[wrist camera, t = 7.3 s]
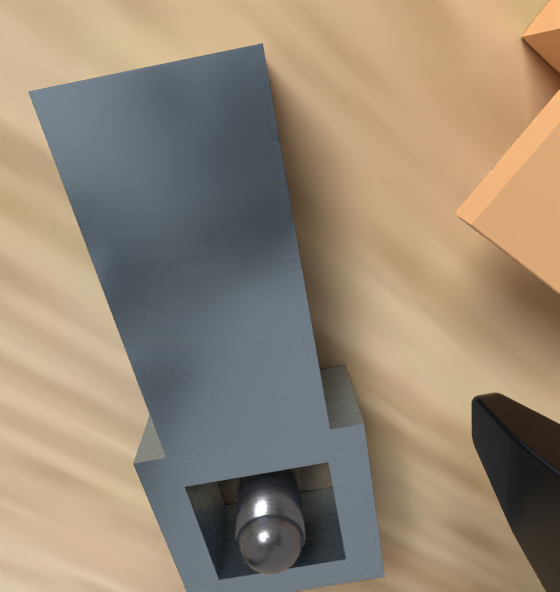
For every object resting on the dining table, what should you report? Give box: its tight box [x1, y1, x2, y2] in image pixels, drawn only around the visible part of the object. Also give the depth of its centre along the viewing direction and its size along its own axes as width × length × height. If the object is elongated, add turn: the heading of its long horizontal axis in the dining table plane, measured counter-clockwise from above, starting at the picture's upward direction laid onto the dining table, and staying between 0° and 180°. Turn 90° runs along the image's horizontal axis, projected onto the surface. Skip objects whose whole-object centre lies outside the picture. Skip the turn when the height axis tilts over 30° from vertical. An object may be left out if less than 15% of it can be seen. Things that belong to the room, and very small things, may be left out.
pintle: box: [235, 468, 306, 574], centre depth 14 cm, size 2×2×4 cm
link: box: [29, 43, 385, 592], centre depth 13 cm, size 15×6×3 cm, turn 10°
